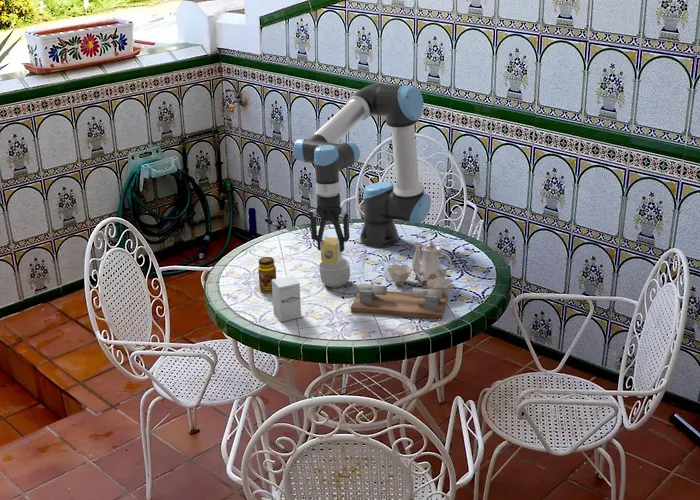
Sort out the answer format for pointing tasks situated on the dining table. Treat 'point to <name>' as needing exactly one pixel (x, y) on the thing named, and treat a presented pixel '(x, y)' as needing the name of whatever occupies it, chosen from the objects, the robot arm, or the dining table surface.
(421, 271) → the chinaware
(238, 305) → the dining table surface
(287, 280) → the supplement box
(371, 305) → the rig
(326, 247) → the block
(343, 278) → the teacup
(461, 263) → the dining table surface
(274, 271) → the condiment
